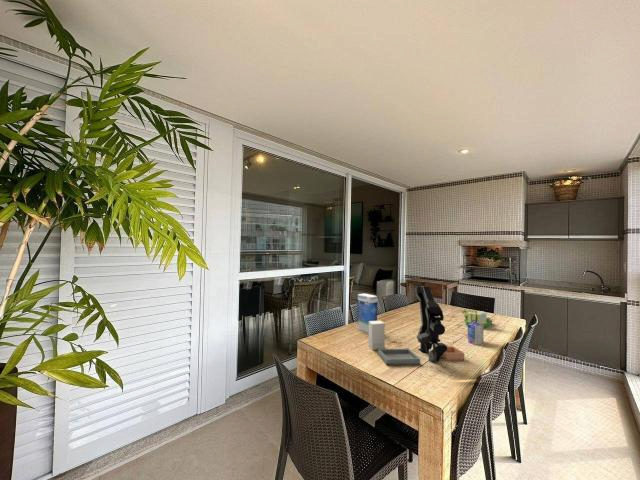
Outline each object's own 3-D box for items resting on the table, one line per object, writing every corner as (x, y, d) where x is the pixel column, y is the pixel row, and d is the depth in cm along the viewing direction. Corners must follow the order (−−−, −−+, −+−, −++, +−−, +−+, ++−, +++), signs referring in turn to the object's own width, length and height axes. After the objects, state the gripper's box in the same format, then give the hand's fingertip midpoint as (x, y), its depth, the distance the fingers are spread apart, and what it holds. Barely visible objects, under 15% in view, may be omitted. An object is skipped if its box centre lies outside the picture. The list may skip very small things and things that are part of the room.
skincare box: (380, 345, 171) (381, 320, 171) (385, 349, 164) (385, 323, 164) (367, 346, 169) (368, 320, 170) (371, 350, 163) (372, 323, 163)
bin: (437, 353, 160) (437, 346, 160) (453, 353, 161) (453, 346, 161) (446, 360, 150) (446, 353, 150) (464, 360, 151) (464, 353, 151)
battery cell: (427, 359, 151) (427, 347, 151) (434, 359, 152) (434, 347, 152) (430, 362, 147) (431, 350, 147) (438, 362, 148) (438, 350, 148)
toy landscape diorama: (469, 318, 241) (470, 303, 242) (496, 323, 228) (497, 307, 228) (457, 326, 216) (458, 309, 216) (487, 332, 202) (487, 314, 202)
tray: (378, 354, 157) (378, 349, 157) (408, 353, 159) (408, 348, 159) (386, 365, 143) (386, 359, 143) (420, 364, 145) (420, 358, 145)
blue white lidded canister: (377, 332, 196) (378, 296, 196) (369, 334, 191) (370, 297, 192) (364, 327, 207) (364, 293, 207) (356, 329, 202) (357, 294, 203)
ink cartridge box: (475, 340, 185) (475, 318, 185) (484, 342, 180) (484, 320, 180) (466, 342, 180) (467, 320, 180) (475, 345, 175) (475, 322, 175)
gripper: (411, 324, 158) (410, 351, 158) (427, 334, 140) (426, 366, 139) (430, 324, 159) (429, 351, 159) (448, 334, 141) (447, 365, 141)
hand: (432, 358), depth 150 cm, fingers open, 9 cm apart
